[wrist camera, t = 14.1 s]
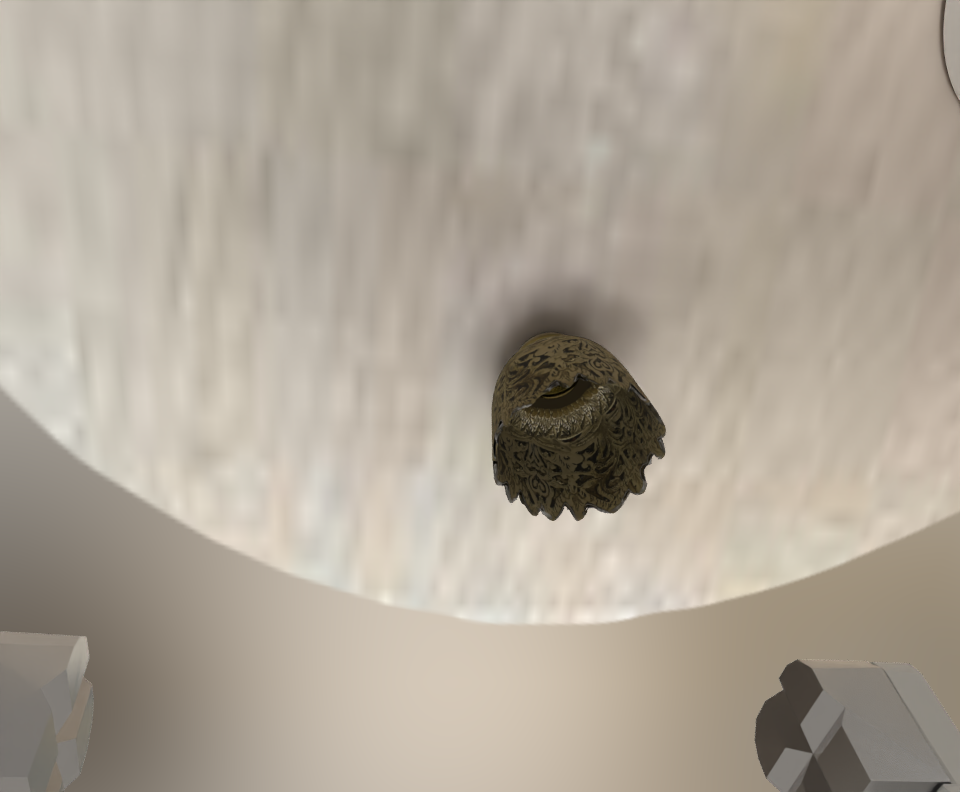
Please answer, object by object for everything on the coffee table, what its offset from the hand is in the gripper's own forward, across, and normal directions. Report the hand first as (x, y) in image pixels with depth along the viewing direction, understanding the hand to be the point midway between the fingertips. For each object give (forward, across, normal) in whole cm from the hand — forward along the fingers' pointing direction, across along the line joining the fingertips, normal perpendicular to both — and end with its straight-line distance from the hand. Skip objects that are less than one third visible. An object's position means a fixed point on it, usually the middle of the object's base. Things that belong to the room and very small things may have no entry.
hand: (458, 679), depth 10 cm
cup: (+29, -9, +13) cm, 33 cm away
